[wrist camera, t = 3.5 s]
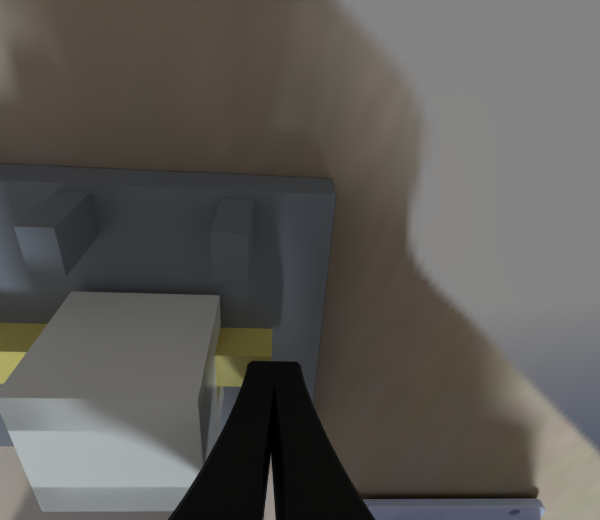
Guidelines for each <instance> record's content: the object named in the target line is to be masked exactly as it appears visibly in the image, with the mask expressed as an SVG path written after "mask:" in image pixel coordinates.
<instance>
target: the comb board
mask: <svg viewBox="0 0 600 520" xmlns="http://www.w3.org/2000/svg"><path fill="white" fill-rule="evenodd" d="M335 202H336V192H335V189H334V186H333V182H332V179H328V178H306V177H284V176H262V175H239V174H217V173H195V172H173V171H151V170H129V169H106V168H84V167H62V166H40V165H18V164H0V388H1V387H2V385H3V384H4V383H5V381H6V380H7V379H8V377H9V376H10V374H11V373H12V372H13V370H14V369H15V368H16V366H17V365H18V364H19V362H20V361H21V359H22V358H23V357H24V355H25V354H26V353H27V351H28V350H29V349H30V347H31V346H32V344H33V343H34V342H35V340H36V339H37V338H38V336H39V335H40V334H41V332H42V331H43V329H44V328H45V327H46V325H47V324H48V323H49V321H50V320H51V319H52V317H53V316H54V314H55V313H56V312H57V310H58V309H59V308H60V306H61V305H62V304H63V302H64V301H65V299H66V298H67V297H68V295H69V294H70V293H71V291H77V292H114V293H152V294H189V295H220V318H221V325H220V330H219V335H218V341H217V346H216V351H215V367H216V386H223V392H224V397H223V404H222V411H221V418H220V425H219V432H218V437H219V436H220V434H221V432H222V430H223V428H224V426H225V424H226V421H227V419H228V417H229V415H230V413H231V410H232V408H233V406H234V404H235V402H236V399H237V396H238V394H239V391H240V389H241V386H242V383H243V380H244V377H245V373H246V369H247V364H248V363H249V362H251V361H289V362H298V363H299V364H300V365H301V369H302V373H303V377H304V380H305V384H306V387H307V390H308V393H309V395H310V398H311V401H312V403H313V401H314V392H315V382H316V373H317V364H318V355H319V346H320V337H321V328H322V319H323V310H324V301H325V292H326V283H327V274H328V265H329V256H330V247H331V238H332V229H333V220H334V211H335ZM0 446H14V444H13V442H12V440H11V437H10V435H9V433H8V430H7V428H6V426H5V423H4V421H3V419H2V416H1V414H0Z"/></svg>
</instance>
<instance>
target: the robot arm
mask: <svg viewBox="0 0 600 520" xmlns="http://www.w3.org/2000/svg"><path fill="white" fill-rule="evenodd" d="M270 456H272V471H273V486H274V501H275V515H276V520H540V518H541V517H542V515H543V513H544V511H545V508H544V506H543V504H542V502H541V501H540V500H539V499H534V498H519V499H362V498H361V497H360V495H359V493H358V492H357V490H356V488H355V487H354V485H353V483H352V482H351V480H350V478H349V477H348V475H347V473H346V472H345V470H344V468H343V466H342V464H341V463H340V461H339V459H338V457H337V455H336V453H335V451H334V449H333V447H332V445H331V443H330V441H329V439H328V437H327V435H326V433H325V431H324V429H323V427H322V424H321V422H320V420H319V418H318V415H317V413H316V411H315V408H314V406H313V403H312V401H311V398H310V395H309V393H308V390H307V387H306V384H305V380H304V377H303V373H302V369H301V365H300V364H299V363H298V362H289V361H251V362H249V363H248V364H247V369H246V373H245V377H244V380H243V383H242V386H241V389H240V391H239V394H238V396H237V399H236V402H235V404H234V406H233V408H232V410H231V413H230V415H229V417H228V419H227V421H226V424H225V426H224V428H223V430H222V432H221V434H220V436H219V437H218V439H217V441H216V443H215V445H214V447H213V449H212V451H211V452H210V454H209V456H208V458H207V460H206V461H205V463H204V465H203V467H202V468H201V470H200V472H199V473H198V475H197V477H196V478H195V480H194V481H193V483H192V484H191V486H190V488H189V489H188V491H187V492H186V494H185V495H184V497H183V498H182V500H181V501H180V503H179V504H178V506H177V507H176V509H175V510H174V512H173V513H172V514H171V516H170V517H169V519H168V520H263V518H264V509H265V500H266V492H267V483H268V474H269V465H270Z"/></svg>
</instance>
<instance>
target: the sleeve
mask: <svg viewBox="0 0 600 520" xmlns="http://www.w3.org/2000/svg"><path fill="white" fill-rule="evenodd" d="M220 325H221V318H220V295H189V294H152V293H114V292H77V291H71V293H70V294H69V295H68V297H67V298H66V299H65V301H64V302H63V304H62V305H61V306H60V308H59V309H58V310H57V312H56V313H55V314H54V316H53V317H52V319H51V320H50V321H49V323H48V324H47V325H46V327H45V328H44V329H43V331H42V332H41V334H40V335H39V336H38V338H37V339H36V340H35V342H34V343H33V344H32V346H31V347H30V349H29V350H28V351H27V353H26V354H25V355H24V357H23V358H22V359H21V361H20V362H19V364H18V365H17V366H16V368H15V369H14V370H13V372H12V373H11V374H10V376H9V377H8V379H7V380H6V381H5V383H4V384H3V385H2V387H1V388H0V414H1V416H2V419H3V421H4V423H5V426H6V428H7V430H8V433H9V435H10V437H11V440H12V442H13V444H14V447H15V449H16V451H17V454H18V456H19V458H20V461H21V463H22V465H23V468H24V470H25V472H26V475H27V477H28V479H29V482H30V484H31V487H32V489H33V491H34V494H35V496H36V498H37V501H38V503H39V505H40V508H41V510H42V511H43V512H52V511H53V512H57V511H58V512H60V511H62V512H63V511H174V510H175V509H176V507H177V506H178V504H179V503H180V501H181V500H182V498H183V497H184V495H185V494H186V492H187V491H188V489H189V488H190V486H191V484H192V483H193V481H194V480H195V478H196V477H197V475H198V473H199V472H200V470H201V468H202V467H203V465H204V463H205V461H206V460H207V458H208V456H209V454H210V452H211V451H212V449H213V447H214V445H215V443H216V441H217V439H218V432H219V425H220V418H221V411H222V404H223V397H224V392H223V386H216V367H215V351H216V346H217V341H218V335H219V330H220Z"/></svg>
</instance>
